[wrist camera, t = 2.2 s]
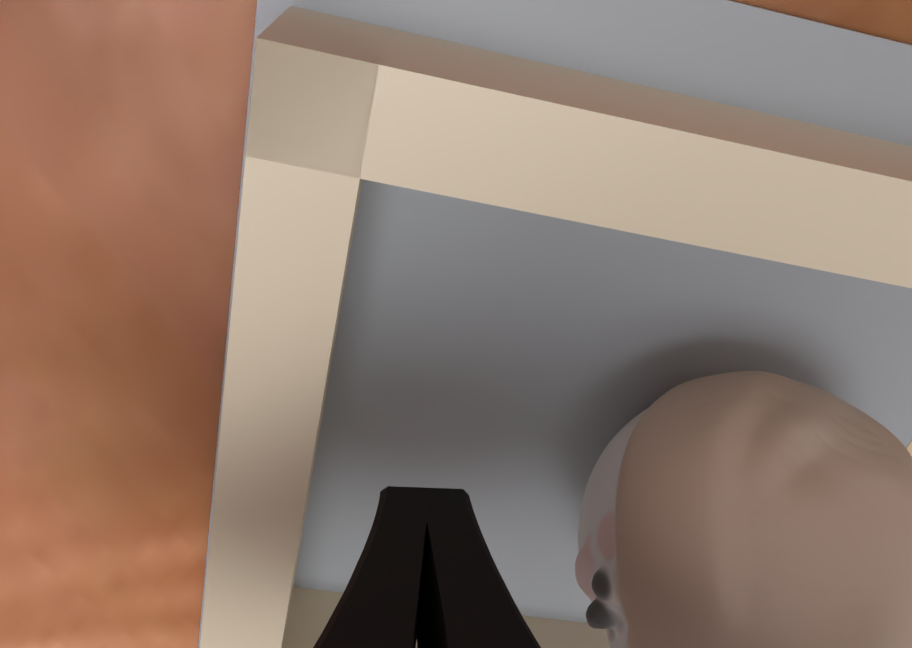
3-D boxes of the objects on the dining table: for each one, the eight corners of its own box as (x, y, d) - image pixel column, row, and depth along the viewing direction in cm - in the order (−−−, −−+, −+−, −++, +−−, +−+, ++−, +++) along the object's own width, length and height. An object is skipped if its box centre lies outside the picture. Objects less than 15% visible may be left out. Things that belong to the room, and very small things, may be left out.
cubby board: (1474, 183, 14) (1717, 253, 12) (980, 737, 22) (1056, 854, 20) (271, -113, 11) (223, -112, 9) (200, 650, 19) (164, 774, 17)
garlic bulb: (497, 515, 17) (549, 948, 10) (646, 273, 14) (854, 643, 7) (747, 592, 19) (940, 1015, 12) (926, 387, 16) (1318, 782, 9)
